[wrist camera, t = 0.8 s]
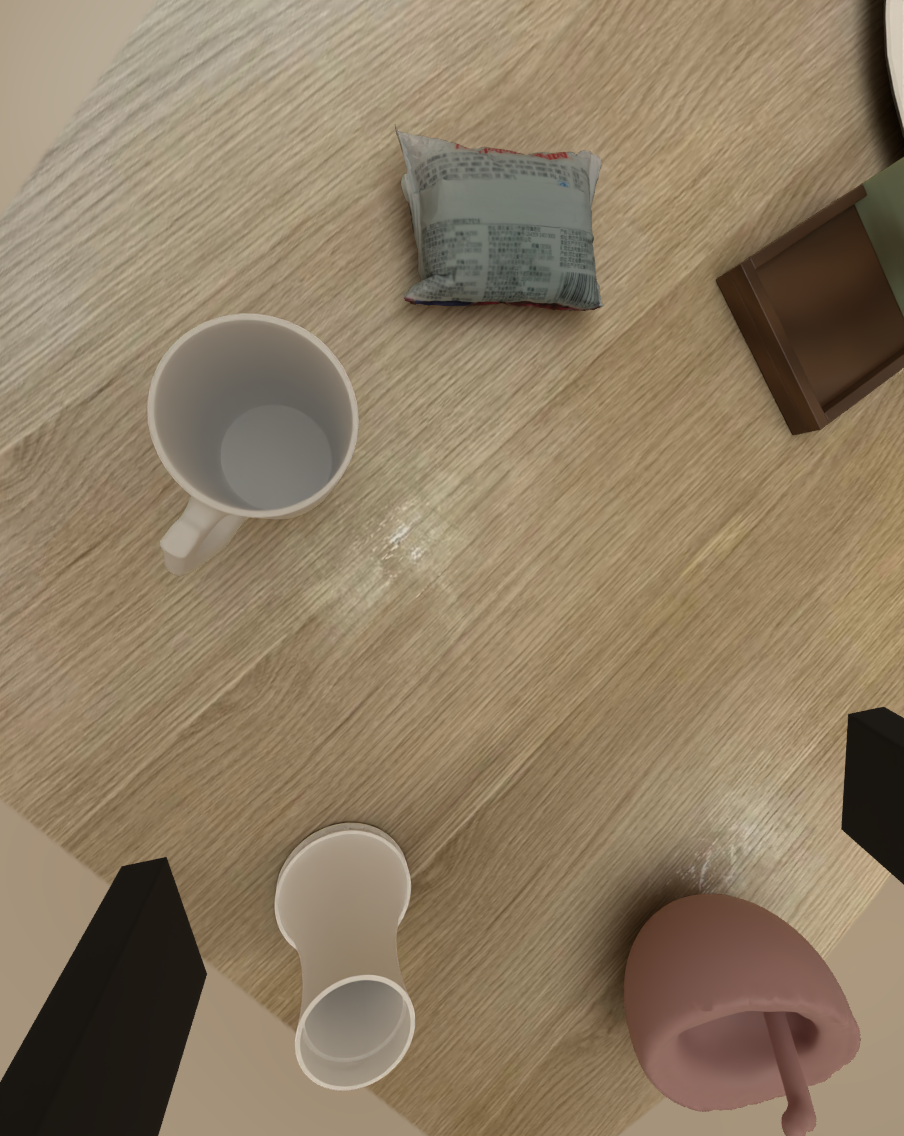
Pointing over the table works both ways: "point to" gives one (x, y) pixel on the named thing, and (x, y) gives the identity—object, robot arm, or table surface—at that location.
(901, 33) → the plate
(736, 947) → the mortar and pestle
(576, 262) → the packaged food
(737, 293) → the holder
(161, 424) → the mug
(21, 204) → the table surface
